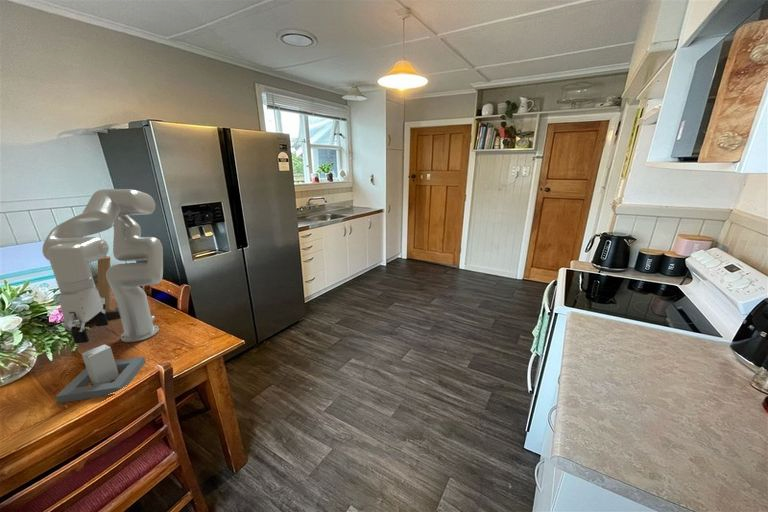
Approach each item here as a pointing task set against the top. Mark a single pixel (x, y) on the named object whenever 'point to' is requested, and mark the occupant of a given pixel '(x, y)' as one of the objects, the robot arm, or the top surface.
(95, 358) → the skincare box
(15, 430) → the top surface
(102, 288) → the hammer
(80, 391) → the socket block
